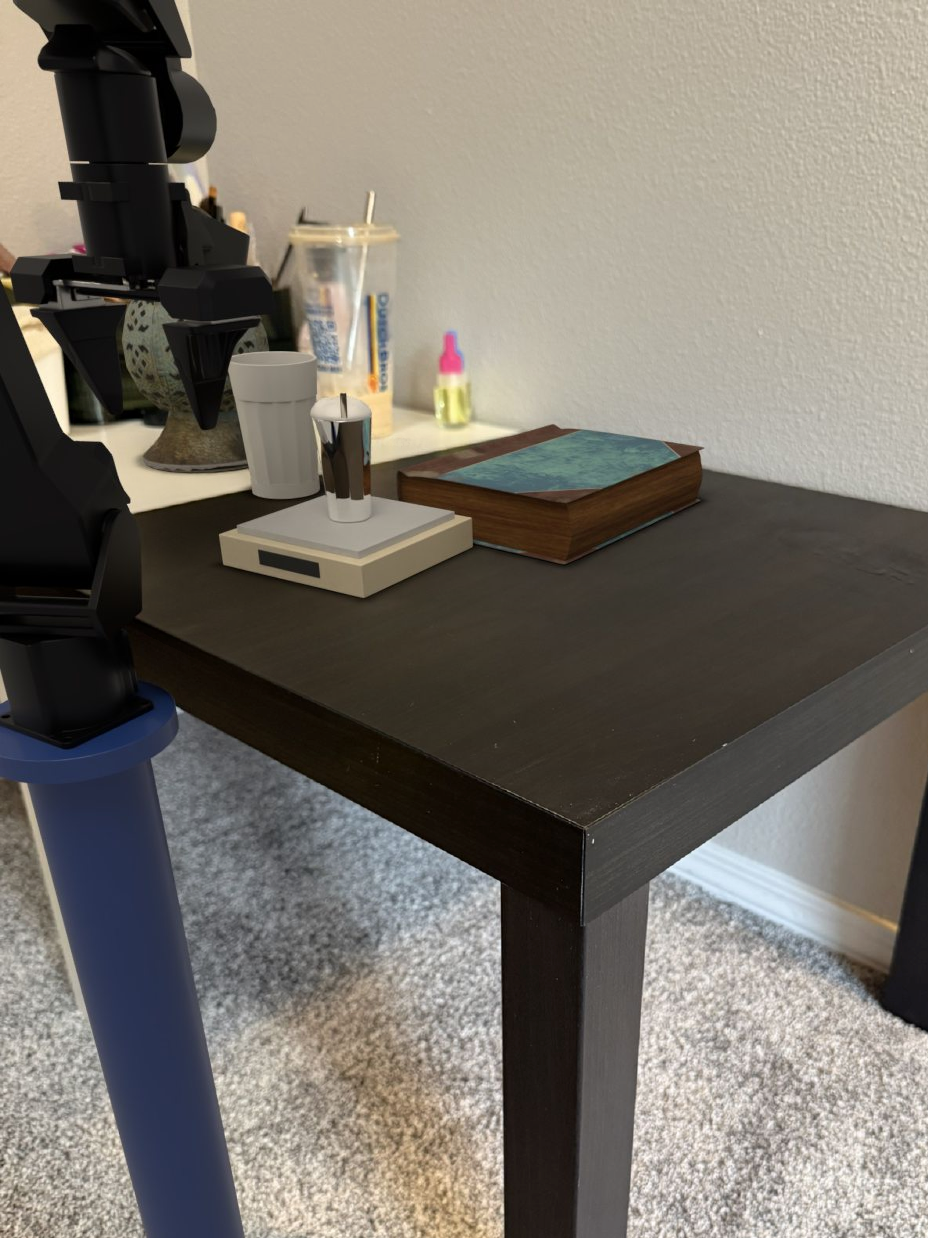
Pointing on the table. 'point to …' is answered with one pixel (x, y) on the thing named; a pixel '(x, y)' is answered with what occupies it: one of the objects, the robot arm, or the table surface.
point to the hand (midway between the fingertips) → (160, 421)
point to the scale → (347, 545)
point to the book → (558, 489)
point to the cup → (277, 421)
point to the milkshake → (344, 455)
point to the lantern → (182, 395)
